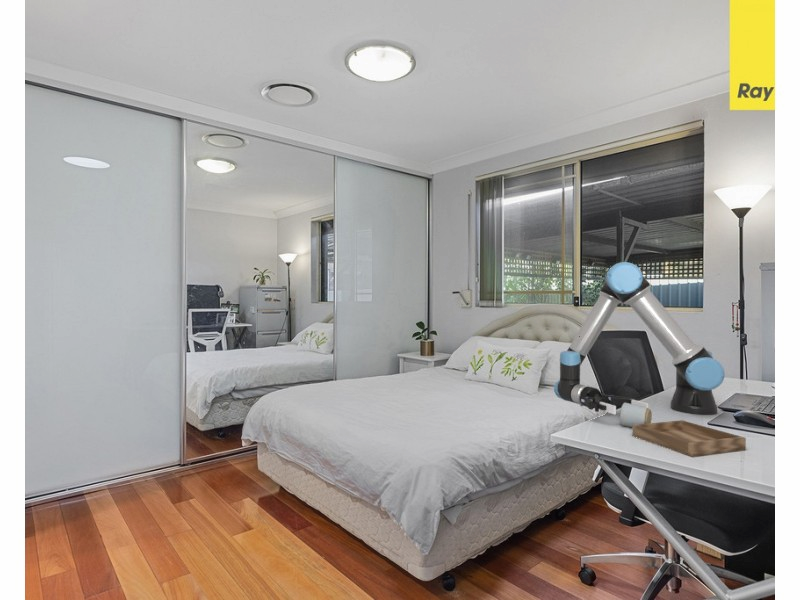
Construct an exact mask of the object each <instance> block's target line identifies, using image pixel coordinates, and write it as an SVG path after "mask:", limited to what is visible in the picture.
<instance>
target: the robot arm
mask: <svg viewBox="0 0 800 600" xmlns="http://www.w3.org/2000/svg"><path fill="white" fill-rule="evenodd" d="M651 288H652V285H651V284H650V282H649V280H647V279H646V277H645V276H644V275H643V273H642V270H641V269H640V268H639V266H638V265H636V264H634V263H633V262H632V263H631V262H627V261H622V262H621V261H620V262H617V263H615V264H614V265H612V266H611V267H610V268H609V269H608V271H607V273H606V276H605V279H604V281H603V284H602V286H601V288H600V290H599V294H600V295H599V297H598V298H597V300H596V301H595V303H594V304H593V307H592V308H591V310H590V311H589V313H588V315H587V316H586V318H585V320H584V322H583V323H582V325H581V327H580V328H579V330H578V332H577V333H576V335H575V336H574V338H573V340H572V342H571V343H570V345H569V347H568V349H567V350H563V351H561V352H560V355H559V380H557V382H556V383H555V385H554V387H553V391H554V394H555V396H556V397H558V398H560V399H561V400H563V401H566V402H570V403H574V404H577V405H579V406H580V407H586V408H588V409H589V410H590V411H591V410H594V412H596V413H598V412H600V411H602V412H606V413H609V414H612V415H617V413H616V412H617V406H622V405H623V404H624V403H629V404H633V405H638V406H643V407H646V408H649V403H648V402H645V401H639V400H638V398H636V397H635V396H634V397H628V396H620V395H614V394H608V395H607V394H605V393H602V392H601V391H600V389H598V388H597V387H592V386H589V385H584V384H581V366H582V363H583V362H584V360H585V359H586V358H587V355H588V354H589V352H590V351H591V349H592V347H593V346H594V344H595V342H596V341H597V339H598V337H599V336H600V334H601V333H602V331H603V329H604V328H605V326H606V325H607V322H609V319H610V318H611V317H612V314H613V313H614V311H615V310H616V308H617V307H618V305H619V304H623V305H628V306H630V307H631V308H632V310H633V311H634V312H635V313H636V315H638V317H639V318H640V319H641V320H642V321H643V323H644V324H645V325H646V326H647V328H648V329H649V330H650V332H651V333H652V334H653V335H654V336H655V337H656V338H657V340H658V341H659V342H660V343H661V345H662V346H663V347H664V349H666V351H667V352H668V353H669V354H670V355H671V357H672V365H673V366H674V367H675V369H676V372H675V373H676V374H675V379H676V380H675V382H676V383H675V384H676V385H675V386H676V387H675V390H674V392H673V396H672V399H671V400H670V408H671V409H672V410H674V411H678V412H681V413H682V412H683V413H688V414H695V415H716V414H718V405H717V404H716V400H715V397H714V393H713V390H715V389H717V388H718V387H720V386H721V385H722V384H723V382H724V380H725V375H726V374H725V370H724V367H723V366H722V364H721V363H720V362H719V361H718V360H717V359H715V358H714V357H713V353H712V352H711V351H710V350H707V349H706V348H705V347H704V345H702V344H696V343H695V342H694V341H693V340H692V338H691V337H690V336H689V335H688V334H687V333H686V331H685V330H684V329H683V328H682V327H681V325H680V324H679V323H678V322H677V321H676V320H675V318H674V317H673V316H672V315H671V314H670V313H669V312H668V310H667V309H666V308H665V307H664V305H663V304H662V303H661V301H659V299H658V298H657V297H656V296H655V294H654V293H653V292H652V291H651ZM579 336H580V337H579ZM584 349H585V350H584ZM586 354H587V355H586Z"/></svg>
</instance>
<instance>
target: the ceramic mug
mask: <svg viewBox="0 0 800 600" xmlns="http://www.w3.org/2000/svg"><path fill="white" fill-rule="evenodd" d="M620 408H621V409H620V414H619V415H620V416H619V422H620V425H621V426H622V427H626V428H627V427H628V428H632V429H633V425H638V424H648V423H652V416H653V415H652V414H653V413H652V411H651V409H650V408H649V407H648V408H646V407H643V406H638V405H633V404H629V403H624V404H623V405H621V407H620Z"/></svg>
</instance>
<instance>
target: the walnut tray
mask: <svg viewBox="0 0 800 600" xmlns="http://www.w3.org/2000/svg"><path fill="white" fill-rule="evenodd" d="M633 436H634V438H636V437H637V438H636V439H639V438H640V439H639V440H642V441H644V440H645V442H647V441H648V442H647V443H650V442H651V444H652V445H656V444H657V445H656V446H659V445H660V446H659V447H662V446H663V447H662V448H664V447H665V448H664V449H667V448H668V450H670V449H671V450H670V451H674V452H677V453H679V454H682V455H686V456H688V457H690V458H697V457H704V456H710V455H711V456H712V455H719V454H728V453H734V452H735V453H736V452H742V451H746V450H747V449H746V448H747V447H746V445H747V442H746V440H747V439H746V437H744V436H742V435H741V436H740V435H738V434H733V433H729V432H727V431H726V432H725V431H722V430H718V429H715V428H712V427H708V426H704V425H700V424H697V423H693V422H689V421H686V420H670V421H661V422H651V423H648V424H638V425H633V428H632V437H633Z"/></svg>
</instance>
